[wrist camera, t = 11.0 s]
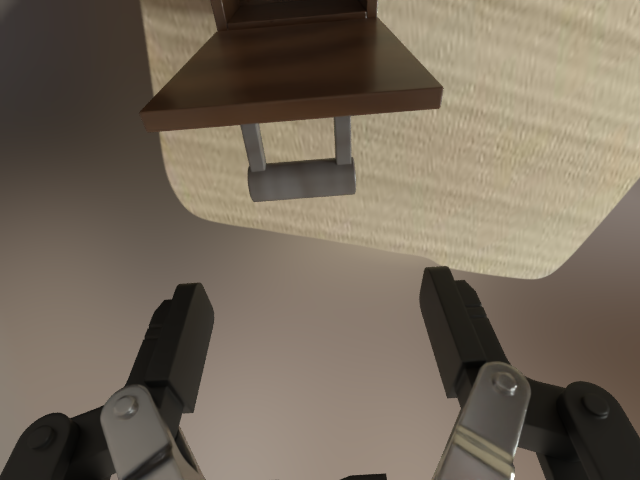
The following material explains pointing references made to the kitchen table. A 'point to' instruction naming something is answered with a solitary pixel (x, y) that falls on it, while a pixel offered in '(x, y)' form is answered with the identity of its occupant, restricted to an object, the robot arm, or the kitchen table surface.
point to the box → (287, 12)
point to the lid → (295, 94)
